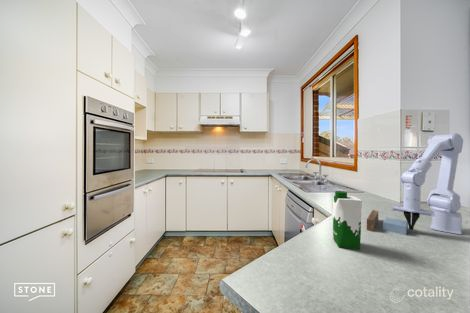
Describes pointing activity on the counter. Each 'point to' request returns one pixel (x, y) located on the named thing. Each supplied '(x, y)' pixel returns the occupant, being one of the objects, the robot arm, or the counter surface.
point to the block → (395, 226)
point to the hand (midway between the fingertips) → (411, 229)
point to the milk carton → (346, 220)
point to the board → (372, 220)
